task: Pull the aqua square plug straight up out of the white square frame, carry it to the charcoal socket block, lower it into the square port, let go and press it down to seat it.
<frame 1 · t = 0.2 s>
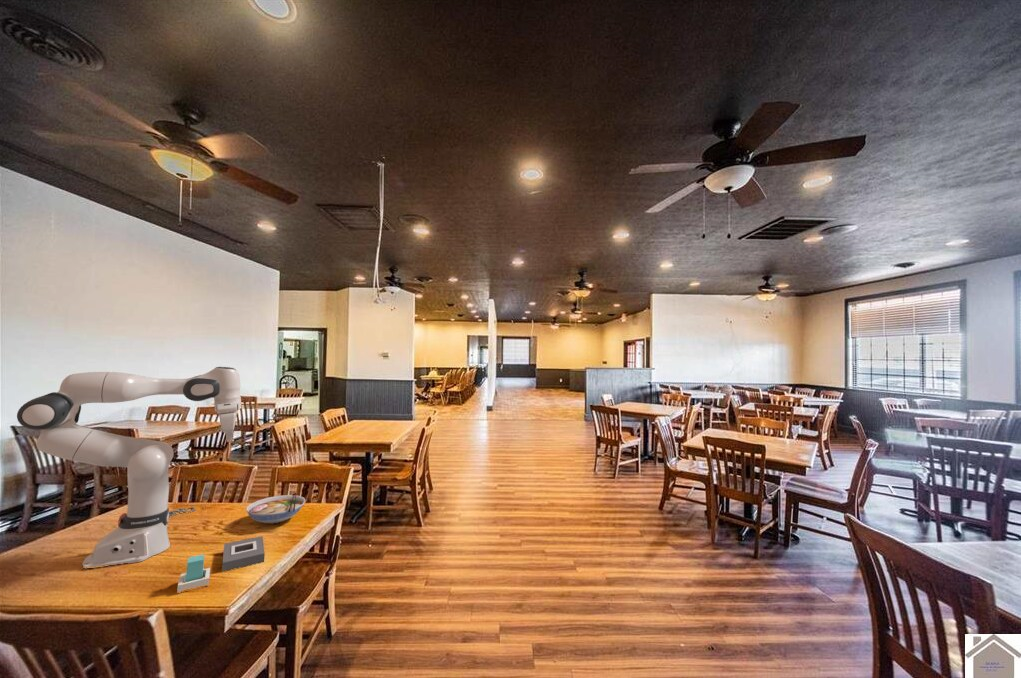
hand: (230, 439, 157), 39 cm above the table, tool pointing down, fingers open, 8 cm apart
knife: (159, 522, 167), on the table
socket block: (243, 556, 139), on the table
white square frame: (194, 584, 122), on the table
plug: (195, 571, 122), in the white square frame
ramen bowl: (275, 521, 170), on the table
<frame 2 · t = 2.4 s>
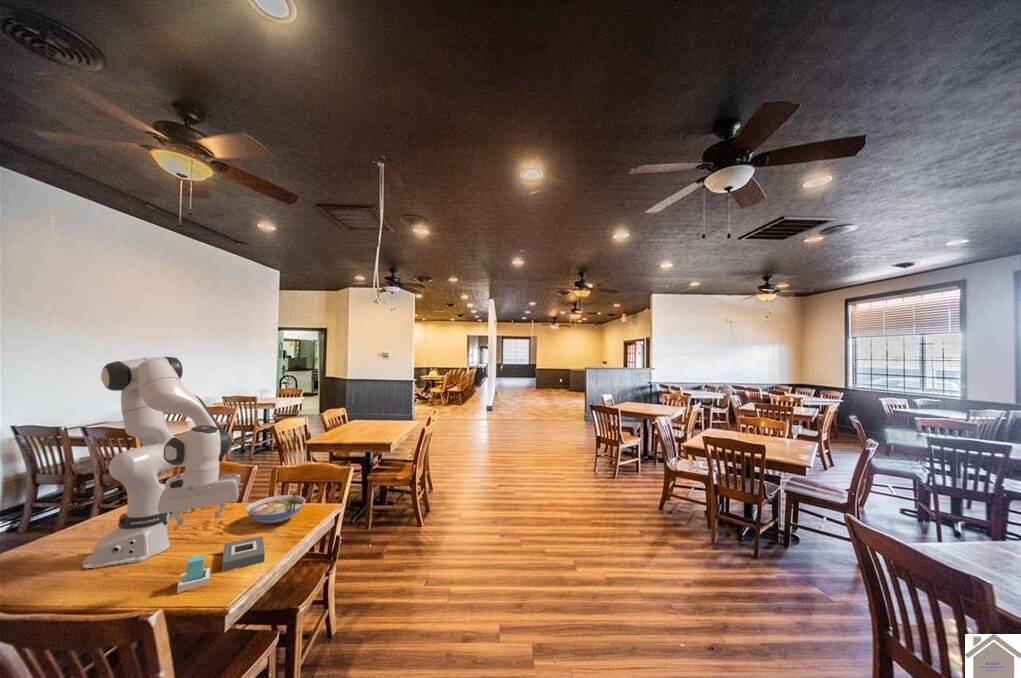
hand: (199, 520, 123), 20 cm above the table, tool pointing down, fingers open, 8 cm apart
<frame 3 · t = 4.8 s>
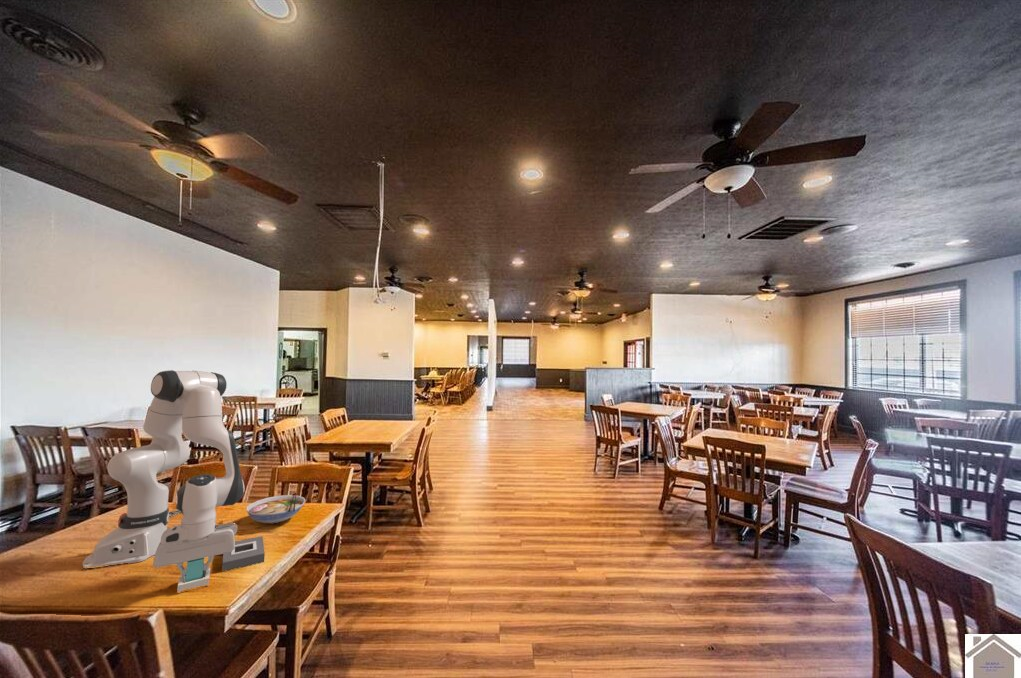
hand: (194, 572, 122), 4 cm above the table, tool pointing down, fingers closed on plug, 4 cm apart
plug: (195, 571, 122), in the white square frame, touching gripper
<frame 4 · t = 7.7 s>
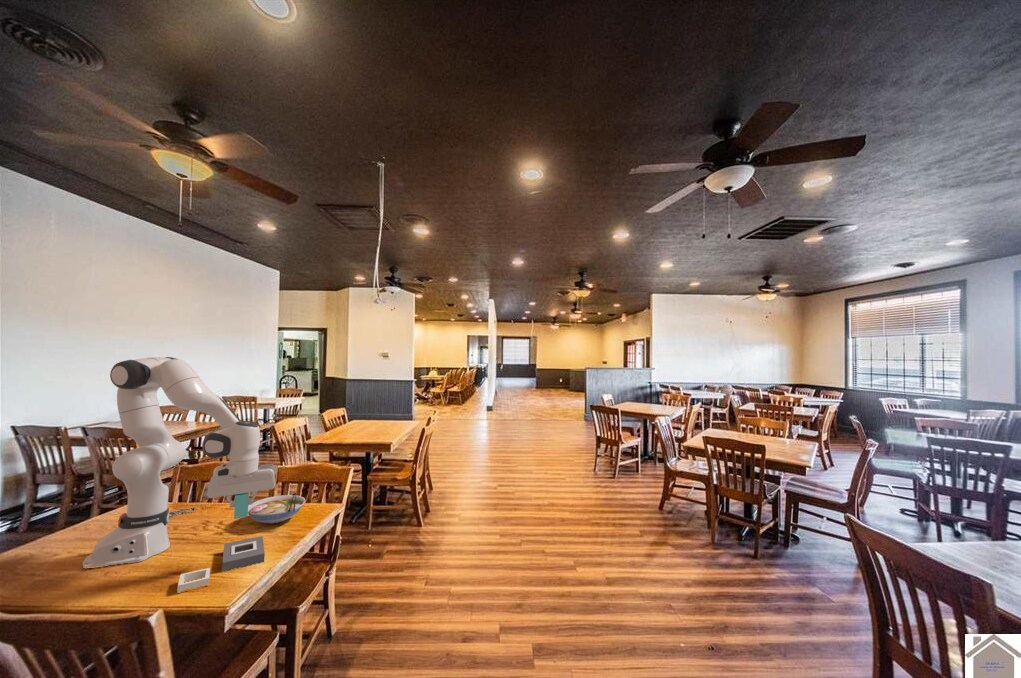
hand: (241, 505, 138), 19 cm above the table, tool pointing down, fingers closed on plug, 4 cm apart
plug: (241, 504, 138), point 20 cm above the table, touching gripper
when the fingers open (5 cm above the table, at t = 10.5 s): plug moves 1 cm, resting in socket block.
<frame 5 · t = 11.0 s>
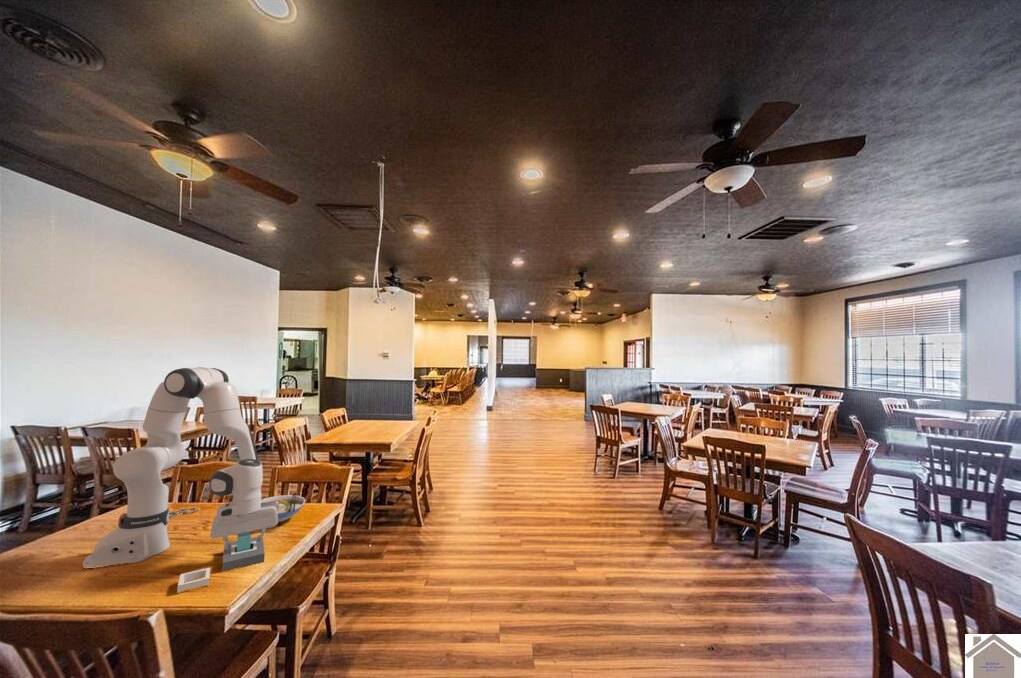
hand: (244, 543, 139), 5 cm above the table, tool pointing down, fingers open, 8 cm apart
plug: (243, 545, 139), in the socket block
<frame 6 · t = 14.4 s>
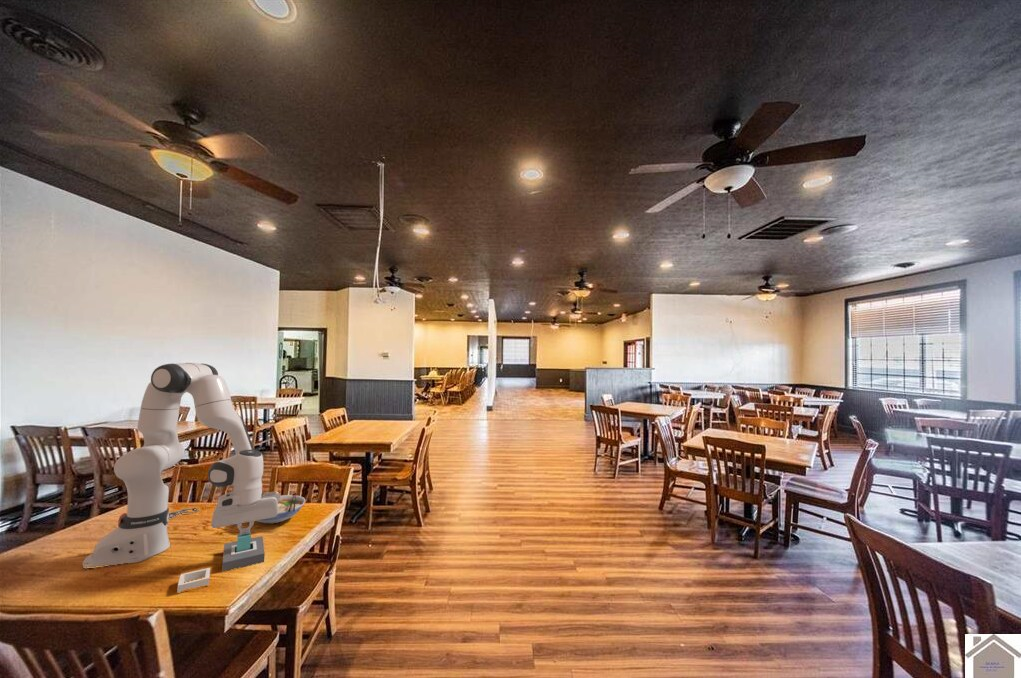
hand: (244, 534, 139), 8 cm above the table, tool pointing down, fingers closed
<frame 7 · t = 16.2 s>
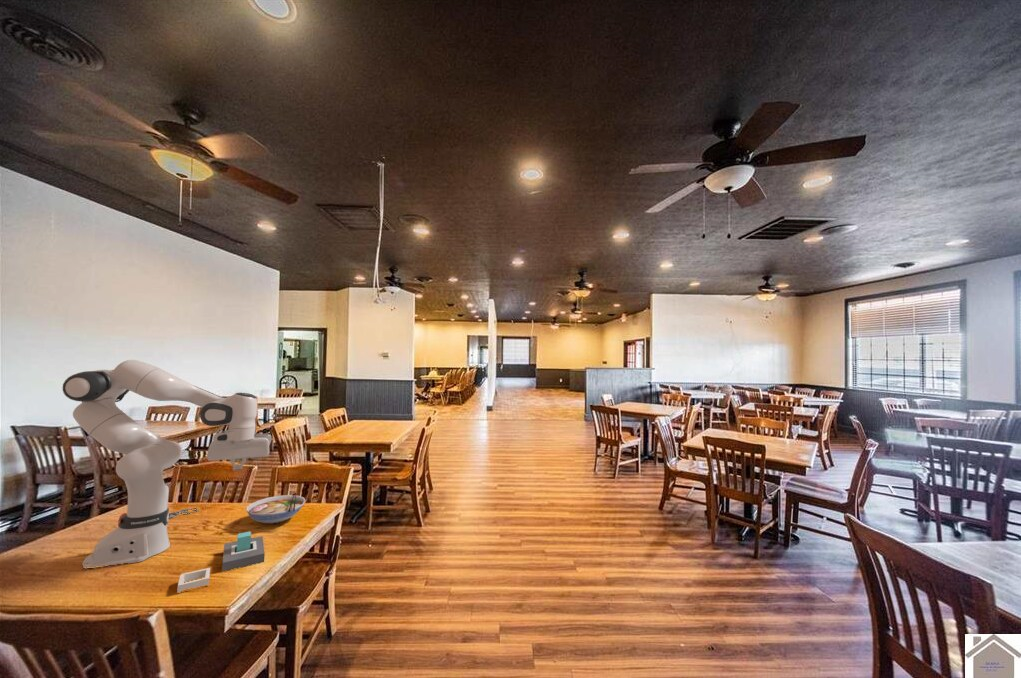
hand: (237, 469, 150), 28 cm above the table, tool pointing down, fingers closed
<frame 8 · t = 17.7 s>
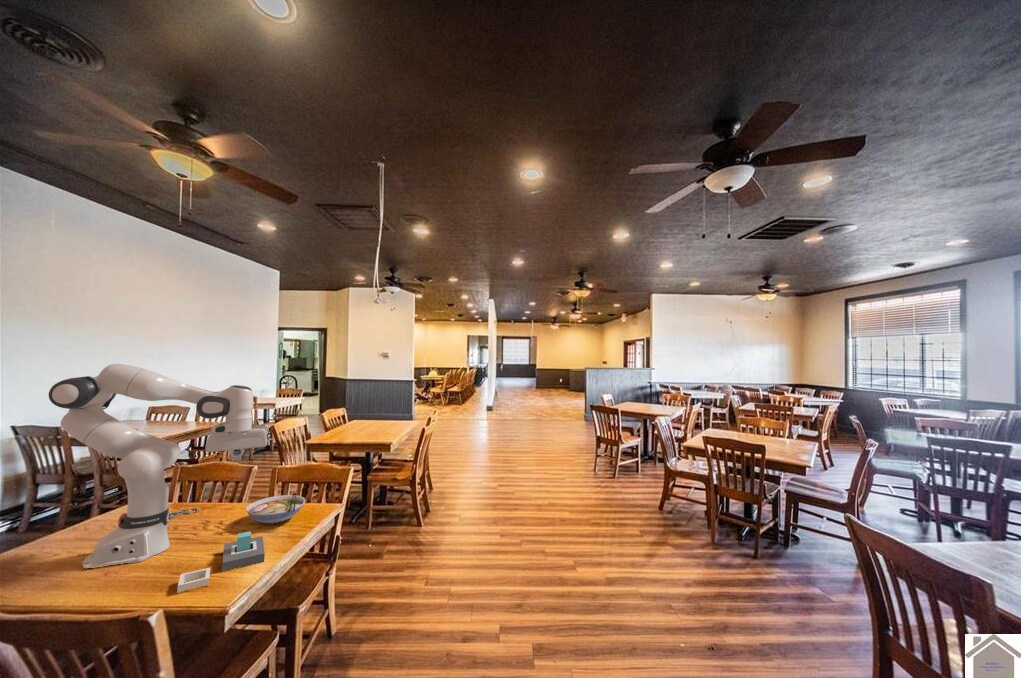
hand: (236, 460, 153), 31 cm above the table, tool pointing down, fingers closed
at the end: plug 0.2 cm off-centre on the socket block, point 4.0 cm above the socket block's base; plug tilted 0°; the gripper is holding nothing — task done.
